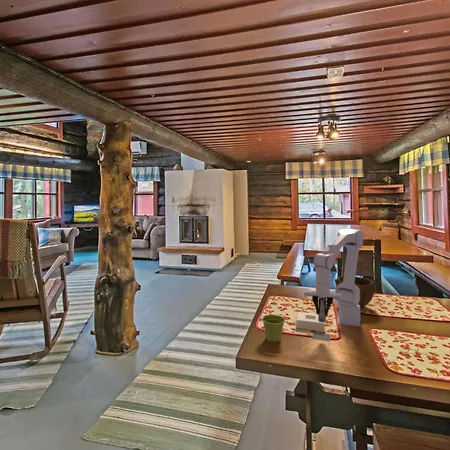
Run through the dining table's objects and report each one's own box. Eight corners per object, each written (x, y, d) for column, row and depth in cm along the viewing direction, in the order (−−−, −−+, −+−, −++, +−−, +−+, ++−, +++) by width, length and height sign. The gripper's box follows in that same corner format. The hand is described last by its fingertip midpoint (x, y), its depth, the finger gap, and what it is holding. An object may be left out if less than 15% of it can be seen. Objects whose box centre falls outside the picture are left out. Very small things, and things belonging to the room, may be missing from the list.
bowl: (375, 304, 166) (376, 277, 165) (370, 315, 150) (371, 286, 149) (339, 298, 176) (340, 273, 175) (331, 308, 161) (332, 281, 159)
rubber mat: (330, 334, 130) (330, 334, 130) (330, 342, 123) (330, 341, 123) (313, 332, 132) (313, 331, 132) (312, 339, 126) (312, 338, 126)
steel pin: (325, 320, 128) (326, 297, 127) (325, 322, 125) (326, 299, 124) (318, 319, 129) (318, 296, 128) (318, 321, 126) (318, 298, 125)
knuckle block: (324, 323, 142) (324, 314, 142) (324, 331, 133) (324, 323, 132) (297, 319, 146) (298, 311, 146) (296, 328, 136) (296, 319, 136)
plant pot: (279, 346, 120) (280, 325, 119) (258, 340, 125) (258, 320, 124) (288, 337, 128) (288, 317, 127) (267, 332, 133) (267, 313, 132)
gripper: (304, 283, 124) (303, 315, 125) (342, 286, 120) (341, 320, 121) (305, 279, 131) (304, 309, 132) (341, 282, 126) (340, 313, 128)
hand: (322, 314), depth 127 cm, fingers closed on steel pin, 3 cm apart
